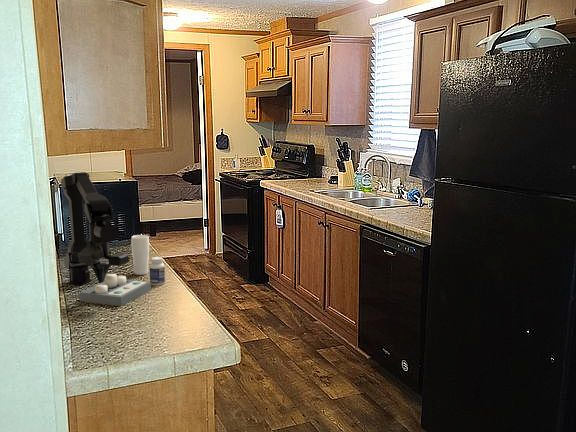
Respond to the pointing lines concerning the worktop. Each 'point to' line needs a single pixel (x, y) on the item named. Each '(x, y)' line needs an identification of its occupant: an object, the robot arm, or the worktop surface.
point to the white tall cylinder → (140, 253)
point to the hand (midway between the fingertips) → (101, 282)
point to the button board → (116, 293)
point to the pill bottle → (157, 271)
